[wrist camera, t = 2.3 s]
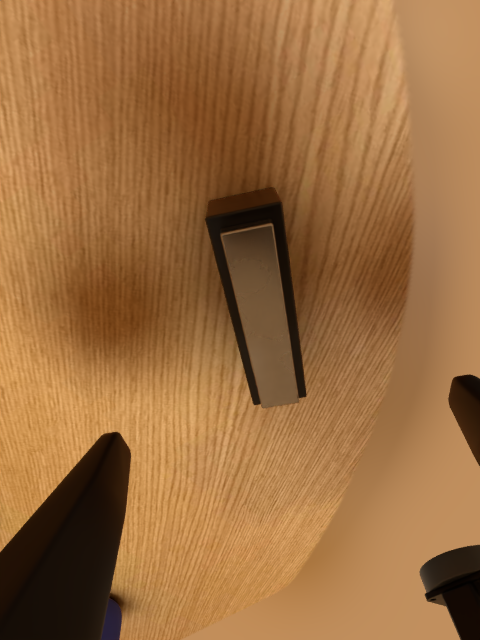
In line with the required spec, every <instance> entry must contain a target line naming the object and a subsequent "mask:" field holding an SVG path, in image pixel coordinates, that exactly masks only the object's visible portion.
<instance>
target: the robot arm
mask: <svg viewBox="0 0 480 640" xmlns="http://www.w3.org/2000/svg"><path fill="white" fill-rule="evenodd" d="M449 405H450V408H451V410H452V412H453V414H454V416H455V418H456V420H457V422H458V424H459V426H460V428H461V430H462V433H463V434H464V436H465V439H466V441H467V443H468V445H469V447H470V449H471V451H472V453H473V455H474V457H475V459H476V460H477V462H478V464H479V466H480V379H479V378H478V377H476V376H473V375H463V376H457V377H454V378H453V380H452V384H451V388H450V393H449ZM130 461H131V453H130V449H129V447H128V446H127V444H126V442H125V441H124V439H123V438H122V436H121V434H120V433H118V432H112V433H106V434H103V435H102V436H101V437H100V438H99V439H98V440H97V441H96V443H95V444H94V445H93V446H92V447H91V448H90V449H89V451H88V452H87V453H86V454H85V455H84V456H83V458H82V459H81V460H80V461H79V462H78V463H77V464H76V466H75V467H74V468H73V469H72V470H71V471H70V473H69V474H68V475H67V476H66V477H65V478H64V479H63V481H62V482H61V483H60V484H59V485H58V486H57V488H56V489H55V490H54V491H53V492H52V493H51V494H50V496H49V497H48V498H47V499H46V500H45V501H44V502H43V504H42V505H41V506H40V507H39V508H38V509H37V511H36V512H35V513H34V514H33V515H32V516H31V517H30V519H29V520H28V521H27V522H26V523H25V524H24V526H23V527H22V528H21V529H20V530H19V531H18V532H17V534H16V535H15V536H14V537H13V538H12V539H11V541H10V542H9V543H8V544H7V545H6V546H5V547H4V549H3V550H2V551H1V552H0V640H101V637H102V632H103V626H104V621H105V616H106V611H107V606H108V601H109V596H110V591H111V586H112V580H113V575H114V570H115V565H116V560H117V555H118V550H119V545H120V540H121V535H122V529H123V524H124V519H125V513H126V505H127V494H128V483H129V472H130ZM425 597H426V599H427V601H428V602H432V603H436V604H440V605H444V606H446V607H447V609H448V611H449V614H450V616H451V618H452V621H453V623H454V625H455V628H456V630H457V632H458V635H459V637H460V639H461V640H480V571H477V572H475V573H472V574H470V575H468V576H465V577H463V578H461V579H458V580H456V581H454V582H451V583H449V584H446V585H444V586H442V587H439V588H437V589H435V590H432V591H430V592H427V593H426V594H425Z"/></svg>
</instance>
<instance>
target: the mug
mask: <svg viewBox="0 0 480 640" xmlns="http://www.w3.org/2000/svg"><path fill="white" fill-rule="evenodd" d="M121 622H122V615H121V609H120V607H119V605H118V604H117V603H116V602H115V601H114V600H112V599H110V598H109V601H108V606H107V611H106V616H105V621H104V626H103V632H102V637H101V640H119V638H120V630H121Z"/></svg>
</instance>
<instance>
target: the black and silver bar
mask: <svg viewBox="0 0 480 640" xmlns="http://www.w3.org/2000/svg"><path fill="white" fill-rule="evenodd" d="M205 220H206V224H207V228H208V232H209V236H210V240H211V244H212V247H213V251H214V255H215V259H216V263H217V267H218V270H219V274H220V278H221V282H222V286H223V290H224V294H225V297H226V301H227V305H228V309H229V313H230V317H231V320H232V324H233V328H234V332H235V336H236V340H237V344H238V347H239V351H240V355H241V359H242V363H243V367H244V370H245V374H246V378H247V382H248V386H249V390H250V394H251V397H252V401H253V404H254V405H259V404H261V406H262V408H269V407H275V406H282V405H288V404H294V403H299V398H303V397H306V395H307V394H306V386H305V378H304V371H303V363H302V355H301V347H300V339H299V331H298V324H297V316H296V308H295V300H294V292H293V284H292V277H291V269H290V261H289V253H288V245H287V237H286V230H285V222H284V214H283V206H282V202H281V200H280V198H279V196H278V194H277V192H276V190H275V188H273V187H271V188H267V189H262V190H257V191H253V192H248V193H243V194H239V195H234V196H230V197H225V198H220V199H216V200H211V201H209V202H208V207H207V212H206V218H205Z"/></svg>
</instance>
